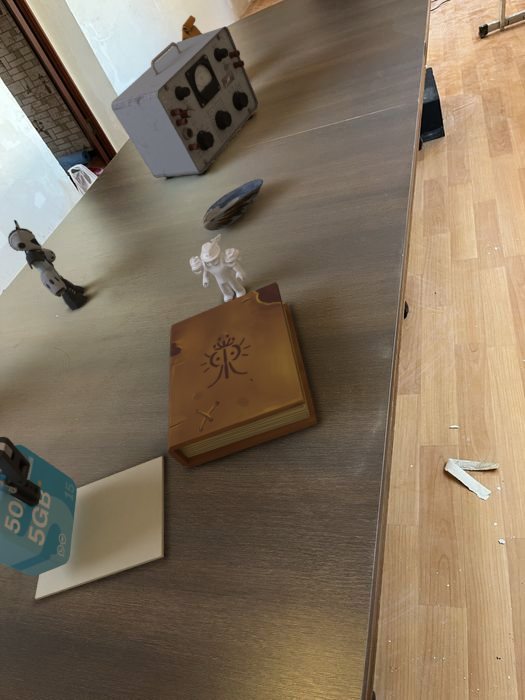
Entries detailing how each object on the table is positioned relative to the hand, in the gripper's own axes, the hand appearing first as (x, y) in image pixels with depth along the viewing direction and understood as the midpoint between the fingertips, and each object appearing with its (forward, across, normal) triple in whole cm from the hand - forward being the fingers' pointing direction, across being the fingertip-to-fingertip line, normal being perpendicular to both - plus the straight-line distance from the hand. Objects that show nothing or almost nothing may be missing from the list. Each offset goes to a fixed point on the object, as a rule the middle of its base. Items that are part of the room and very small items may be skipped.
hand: (18, 505), depth 59 cm
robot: (+10, +8, -57) cm, 58 cm away
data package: (+8, 0, 0) cm, 8 cm away
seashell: (+10, -32, -60) cm, 69 cm away
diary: (+10, -27, -15) cm, 32 cm away
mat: (+10, -5, 0) cm, 11 cm away
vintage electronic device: (+10, -29, -101) cm, 106 cm away
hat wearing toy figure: (+10, -28, -35) cm, 46 cm away
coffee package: (+10, -34, -138) cm, 142 cm away
